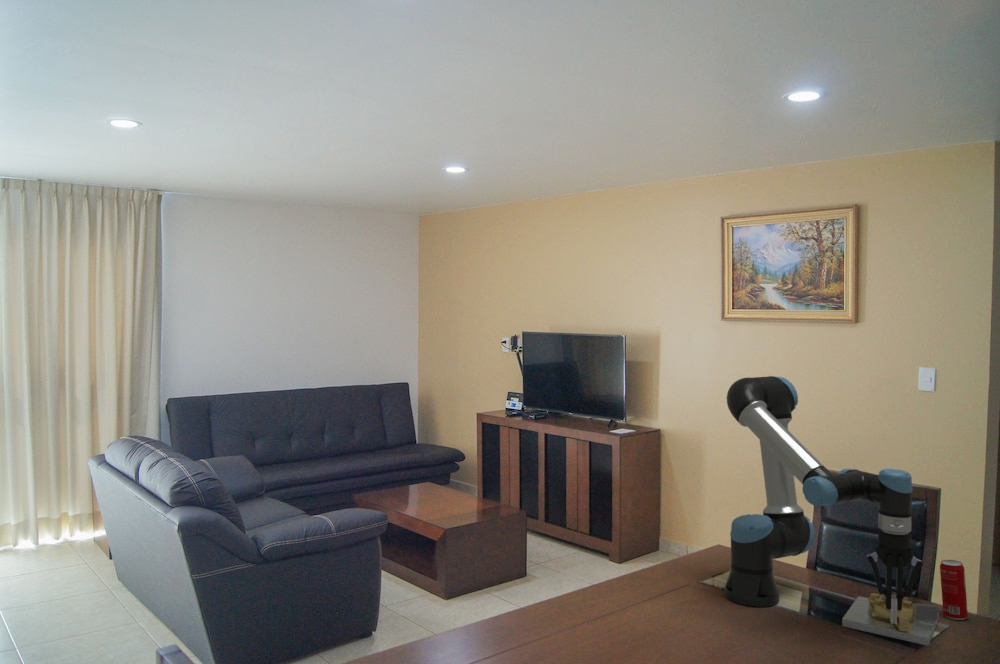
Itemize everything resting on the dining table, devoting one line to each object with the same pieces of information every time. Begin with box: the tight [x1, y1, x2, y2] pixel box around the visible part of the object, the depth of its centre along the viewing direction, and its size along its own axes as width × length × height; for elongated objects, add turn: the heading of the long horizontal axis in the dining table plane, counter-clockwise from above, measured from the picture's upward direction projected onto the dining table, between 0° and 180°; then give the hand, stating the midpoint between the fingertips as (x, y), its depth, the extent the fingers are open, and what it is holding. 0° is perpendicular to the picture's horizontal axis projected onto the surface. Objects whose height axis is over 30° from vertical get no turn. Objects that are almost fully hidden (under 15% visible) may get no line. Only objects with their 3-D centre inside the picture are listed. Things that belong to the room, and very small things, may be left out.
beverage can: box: [939, 559, 969, 621], centre depth 201 cm, size 6×6×15 cm
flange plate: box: [841, 595, 940, 647], centre depth 196 cm, size 20×20×6 cm
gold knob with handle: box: [867, 592, 915, 632], centre depth 194 cm, size 16×11×4 cm, turn 167°
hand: (893, 621), depth 188 cm, fingers closed
